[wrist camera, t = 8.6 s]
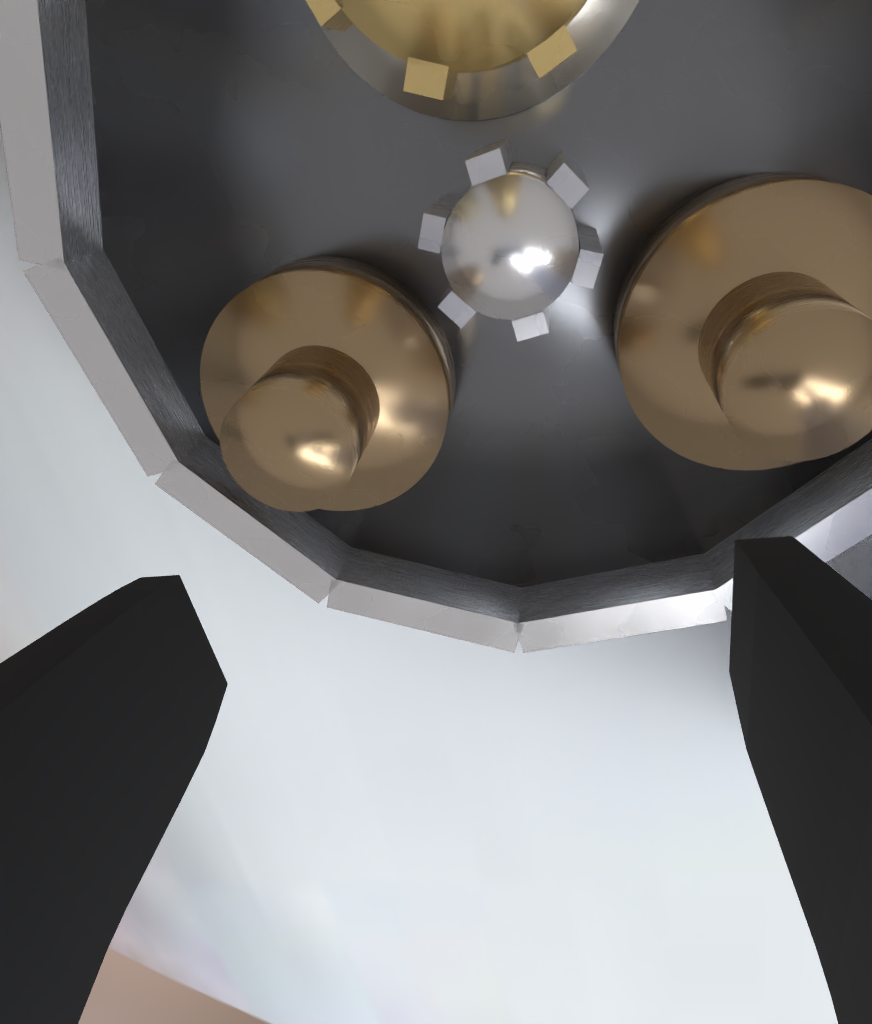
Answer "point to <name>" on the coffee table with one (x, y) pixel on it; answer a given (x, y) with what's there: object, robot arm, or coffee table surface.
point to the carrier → (467, 295)
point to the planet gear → (458, 35)
